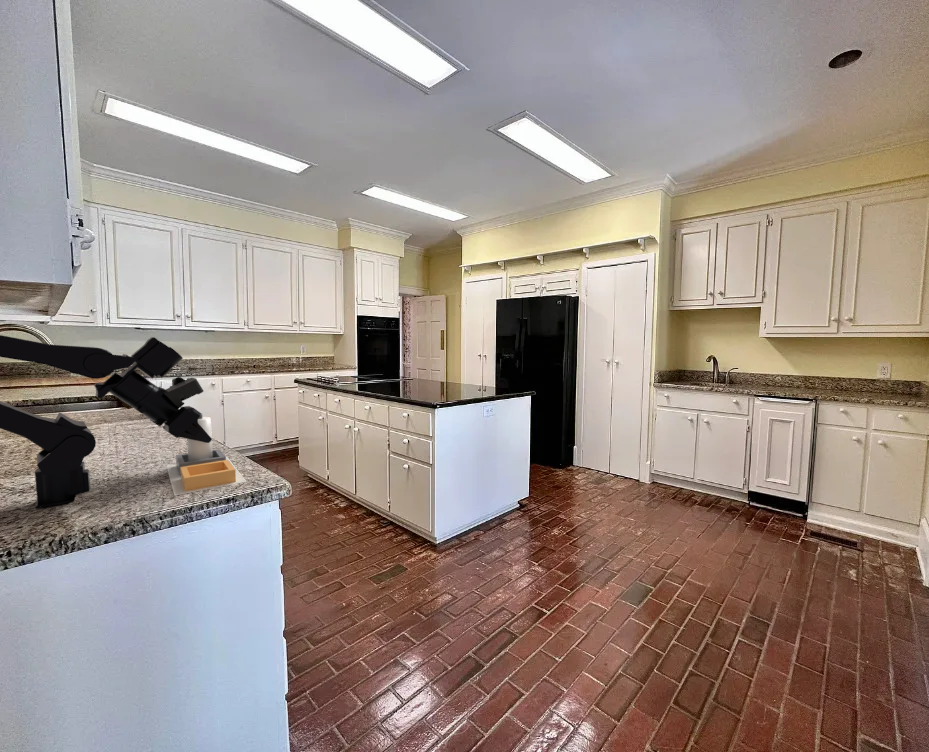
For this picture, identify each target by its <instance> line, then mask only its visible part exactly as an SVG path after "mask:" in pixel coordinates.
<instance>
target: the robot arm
mask: <svg viewBox="0 0 929 752" xmlns="http://www.w3.org/2000/svg"><path fill="white" fill-rule="evenodd" d="M0 358H5V359H11V360H17V361H23V362H28V363H35V364H36V363H37V364H41V365H46V366H50V367H52V368H56V369H58V370H59V369H60V370H63V371H66V372H67V373H68V372H69V373H73V374H76V375H79V376H83V377H85V378H89V379H93V380H94V379H95V380H97V379H99V380H100V379H104V378H106V377H108V376H109V377H108V378H107V379H106V380H105V381H103V382H102V383H101V382H99V383H98V382H97V383H94V384H93V386H94V388H95V396H96V397H97V398H98V399H103V398H104V397H105V396H106V395H107V394H109V393H110V394H111V395H113V396H114V397H116V398H118V399H119V400H121V401H122V402H124V403H125V404H127V405H128V406H130V407H131V408H132V409H134V410H136V411H137V412H139V413H140V414H142V415H144V416H145V417H146V418H148V419H149V421H150V422H152V423H154V424H155V425H157V427H162V426H163V427H162V429H163V430H164V431H165V432H167V433H169V434H170V435H171V436H173V437H175V438H176V439H178V438H182V439H186V440H187V439H191V440H196V441H201V442H206V443H209V442H210V441H211V440H212V441H213V437H212V438H211V437H210V436H209V435H208V434H207V433H206V432H205V430H204V429H203V428H202V427H201V426H200V425H199V423H198V418H199V417H200V415H201V414H202V413H201V412H200V411H199V410H197V409H196V408H194V407H193V406H190V405H186V406H184V405H185V402H184V401H186V400H188V399H190V398H191V397H194V396H196V395H200V394H203V393H204V389H203V387H202V386H201V384H200V382H199V381H198V379H197V378H195V377H188V378H186V379H185V378H183V377H181V376H177V377H175V378H172V380H171V385H170V386H169V387H168V388H163V387H161V386H157V385H156V384H154V383H153V382H152V381H150V380H149V379H147V378H146V377H144V376H143V375H142V374H140V373H139V372H137V371H136V369H137V370H139V371H140V372H142V373H143V374H144V375H146V376H147V377H149V378H150V379H152V380H153V379H154V378H161V379H162V378H163V377H164V376H166V374H167V373H169V372H170V371H171V370H173V369H174V367H176V365H178V364H179V363H180V362H181V361H182V360H183V359H184V358H183V356H182V355H181V354H179V352H177V351H176V350H175V349H174V348H172V347H171V346H168V345H166V344H165V343H163V342H162V341H160V340H159V339H158V338H156V337H152V336H151V337H150V338H148V339H147V340H146V341H145V343H144V344H143V345H142V346H140V348H139V349H137V350H136V351H134V353H132V354H131V355H128V354H127V353H126V354H125V353H123V354H122V355H121V354H113V353H112V352H110V351H109V350H107V349H104V348H101V347H94V346H81V345H80V346H79V345H63V344H62V345H61V344H50V343H44V342H38V341H33V340H29V339H23V338H17V337H13V336H8V335H2V334H0ZM121 369H122V370H123V369H125V371H123V372H122V373H120V374H118V373H116V372H114V371H116V370H117V371H118V370H121ZM113 372H114V373H113ZM111 374H112V375H111ZM110 375H111V376H110ZM0 429H1V430H3V431H6V432H9V433H12V434H14V435H18V436H21V437H23V438H25V439H27V440H29V441H30V442H31V443H33V444H34V445H36V446H38V447H39V448H41V449H42V450H40V452H38V453H37V454H36V466H37V468H36V469H35V471H34V479H35V489H36V502H35V505H34V508H35V509H40V508H46V507H52V506H59V505H64V504H69V503H74V502H75V499H76V496H77V495H79V494H84V493H87V492H90V491H91V477H90V470H89V469H86V467H85V461H84V458H86V457H88V456H89V455H91V454H92V452H94V450H95V448H96V444H97V441H96V437H95V436H94V434H93V433H92V431H91V429H90V428H88V426H87V424H86V423H85V421H83V420H76V419H72V418H71V417H68V416H67V415H66V414H64V413H62V412H58V414H57V415H56V418H53V417H52V418H51V417H45V416H40V415H37V414H35V413H32V412H30V411H27V410H24V409H21V408H19V407H18V406H17V407H16V406H14V405H11V404H9V403H6V402H4V401H0Z"/></svg>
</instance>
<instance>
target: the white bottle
mask: <svg viewBox="0 0 929 752" xmlns="http://www.w3.org/2000/svg"><path fill="white" fill-rule="evenodd" d="M198 423H199V425H200V426H201V427H202V428H203V429H204V430H205V432H206V433H207V434H208V435H209V436H210V437H211V438H212V440H211V441H210V442H209V443H206V442H201V441H196V440H191V439H186V441H187V442H186V443H187V453H188V462H189V461H196V460H202V459H209V458H213V451H212V450H213V436H212V435H213V433H212V431H213V430H212V417H211V416H203V413H201V415H200V417H199V418H198Z"/></svg>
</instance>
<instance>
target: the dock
mask: <svg viewBox="0 0 929 752" xmlns="http://www.w3.org/2000/svg"><path fill="white" fill-rule="evenodd" d="M212 451H213V458H209V459H202V460H196V461H189V462H188V452H187V453H182V454H181V453H180V454H175V462H176V463H175V464H170V465H166V469H167V473H168V477H169V481H170V485H171V488H172V492H173V496H180V495H184V494H190V493H195V492H200V491H206V490H210V489H216V488H221V487H227V486H232V485H238V484H243V483H247V480H246V479H245V477H244V476H243V475H242V474H241V473H240V471H239V470H238V469H237V467H236V466H235V465H234V464H233V462H232V461H231V460H230V458H229V457H228V456H226V455H225V454H224V453H223V452H222V450H221V449H220V448H217V449H212Z"/></svg>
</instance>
